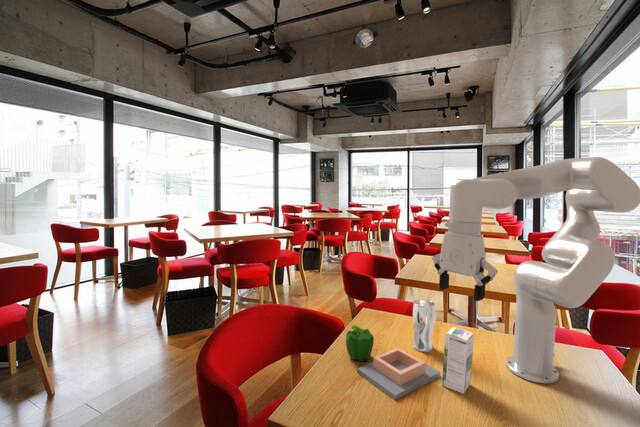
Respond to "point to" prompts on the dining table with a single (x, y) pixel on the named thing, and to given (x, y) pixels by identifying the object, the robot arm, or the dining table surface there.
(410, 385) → the socket board
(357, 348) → the bell pepper
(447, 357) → the syrup box
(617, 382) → the dining table surface
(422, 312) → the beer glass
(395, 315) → the dining table surface
